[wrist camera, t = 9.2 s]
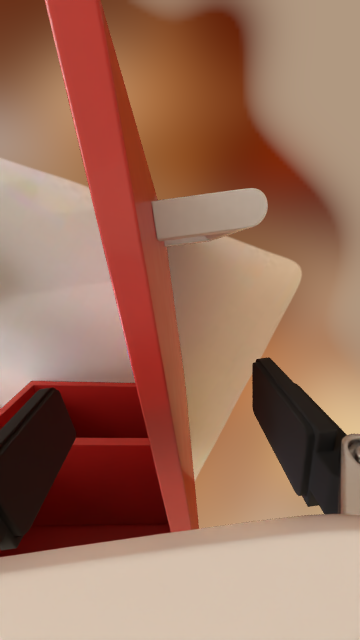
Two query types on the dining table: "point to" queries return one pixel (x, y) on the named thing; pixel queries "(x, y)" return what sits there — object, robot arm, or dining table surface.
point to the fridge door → (141, 238)
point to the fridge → (97, 471)
